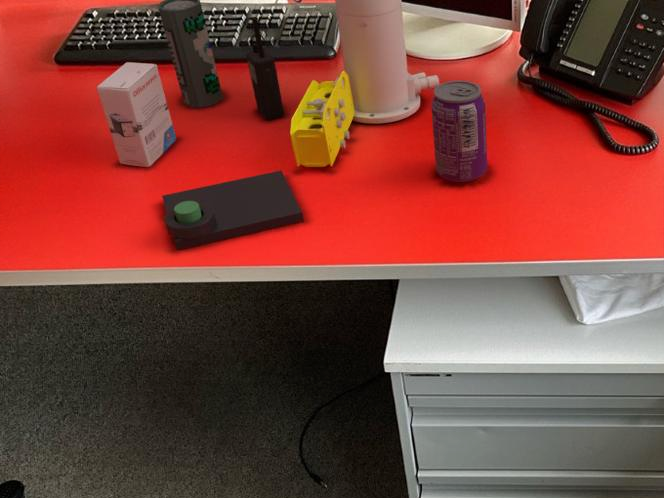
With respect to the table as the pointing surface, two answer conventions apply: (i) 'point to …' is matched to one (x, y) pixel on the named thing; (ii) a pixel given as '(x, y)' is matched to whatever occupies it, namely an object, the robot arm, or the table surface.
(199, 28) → the can
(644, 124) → the table surface
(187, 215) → the button
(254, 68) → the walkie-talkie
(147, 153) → the ink box
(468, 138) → the beverage can
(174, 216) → the scale
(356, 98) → the robot arm
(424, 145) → the table surface
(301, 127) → the yellow toy chassis
